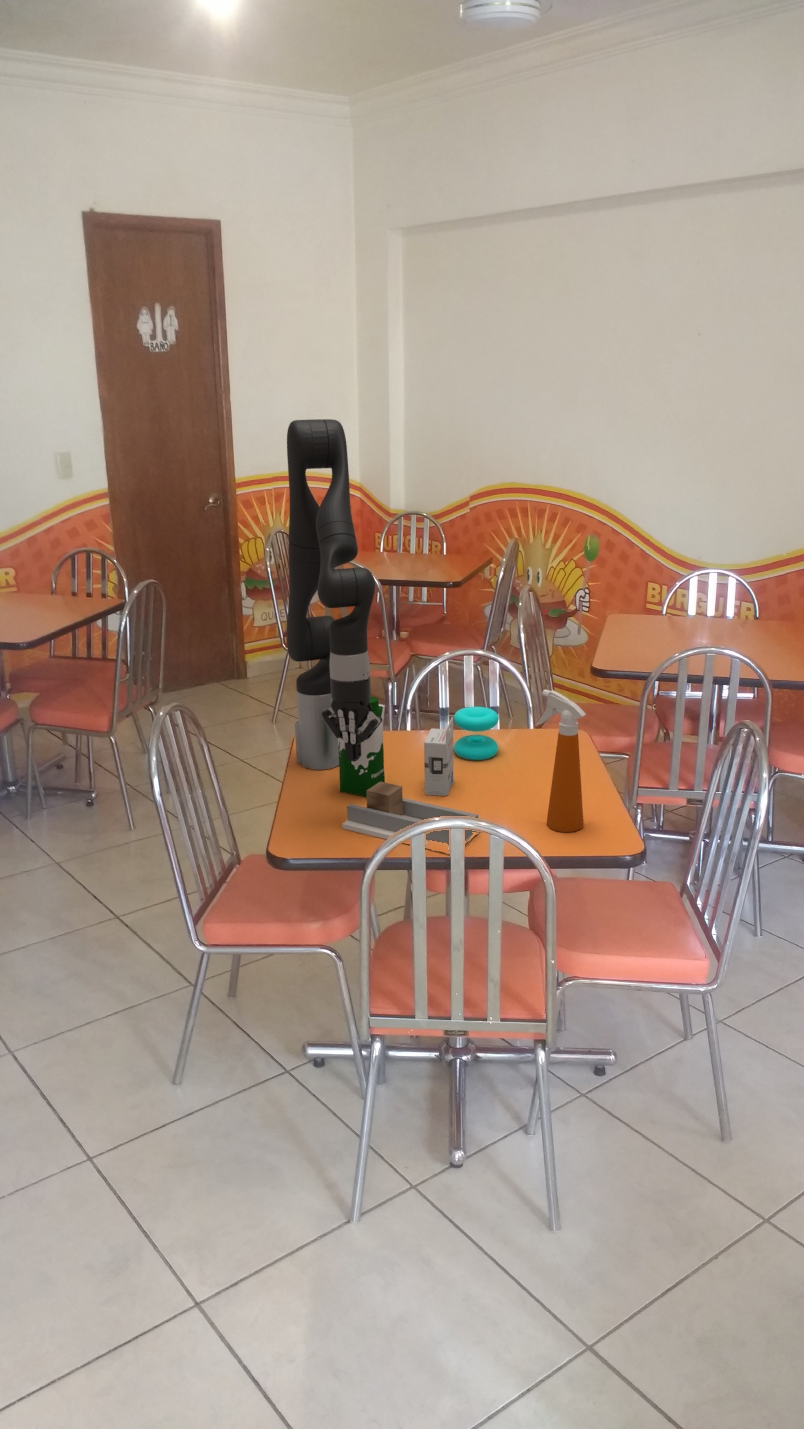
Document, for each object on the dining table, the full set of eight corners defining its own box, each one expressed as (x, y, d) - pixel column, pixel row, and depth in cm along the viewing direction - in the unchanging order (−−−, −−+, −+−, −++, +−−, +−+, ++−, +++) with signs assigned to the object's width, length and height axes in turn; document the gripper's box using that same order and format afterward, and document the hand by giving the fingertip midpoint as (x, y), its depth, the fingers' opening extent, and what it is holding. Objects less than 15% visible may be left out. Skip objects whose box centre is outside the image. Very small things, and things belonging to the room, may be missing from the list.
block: (367, 819, 200) (366, 790, 198) (381, 809, 204) (380, 781, 202) (389, 824, 198) (388, 795, 196) (402, 814, 202) (402, 786, 200)
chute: (342, 828, 199) (341, 809, 198) (375, 805, 209) (375, 787, 208) (452, 855, 188) (452, 835, 186) (482, 830, 197) (482, 811, 196)
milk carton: (371, 800, 212) (368, 707, 205) (333, 793, 216) (329, 701, 209) (391, 784, 219) (388, 694, 213) (353, 777, 223) (350, 689, 216)
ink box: (431, 779, 221) (430, 714, 217) (454, 780, 221) (453, 715, 216) (424, 795, 214) (423, 728, 209) (447, 796, 213) (447, 729, 208)
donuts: (444, 713, 231) (471, 702, 238) (445, 755, 235) (471, 742, 242) (480, 722, 225) (507, 710, 232) (480, 765, 228) (506, 752, 235)
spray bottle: (542, 809, 206) (546, 682, 197) (590, 823, 200) (596, 693, 191) (523, 821, 201) (525, 692, 192) (571, 836, 194) (576, 703, 186)
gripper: (309, 674, 195) (314, 760, 201) (369, 683, 189) (372, 772, 194) (332, 664, 201) (336, 748, 207) (390, 673, 195) (392, 759, 200)
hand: (353, 759), depth 201 cm, fingers closed
